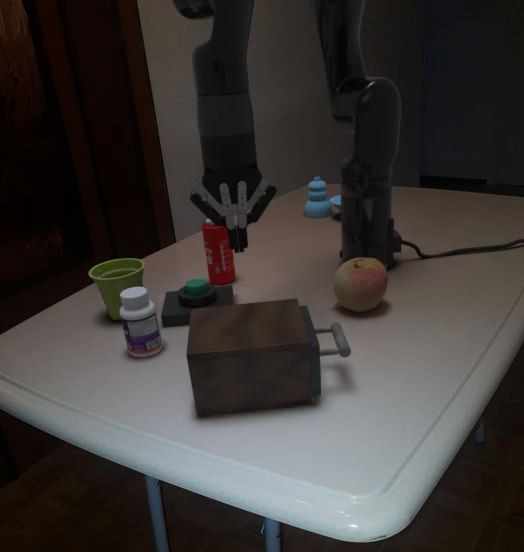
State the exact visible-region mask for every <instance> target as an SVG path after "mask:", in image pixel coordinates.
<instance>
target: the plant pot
mask: <svg viewBox="0 0 524 552" xmlns="http://www.w3.org/2000/svg"><path fill="white" fill-rule="evenodd" d="M145 267H146V263H145V261H143V260H142V259H139V258H132V257H131V258H130V257H127V258H126V257H125V258H115V259H112V260H107V261H105V262H102V263H99V264H96V265H95V266H93V267H92V268H90V270H89V271H88V276H89V278H90V279H92V280H93V283H94V285H96V286H97V289H98V291H99V293H100V295H101V298H102V301H103V303H104V305H105V308H106V310H107V313H108V314H109V317H110V319H111V320H113V321H117V320H120V321H121V318H120V309H121V307H122V306H123V304H122V302H121V297H120V294H121V292H122V291H124V290H126V289H128V288H132V287H144V280H143V278H144V277H143V276H144V269H145Z"/></svg>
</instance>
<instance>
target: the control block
mask: <svg viewBox="0 0 524 552" xmlns="http://www.w3.org/2000/svg"><path fill="white" fill-rule="evenodd" d="M206 283H207V290H208V291H207V292H206V293H204V294H200V295H187V293H186V287H185V285H183V286H182V287H180V288H179V289H178V290H172V291H166V292H165V295H164V300H163V305H162V310H161V314H160V319H161V323H162V328H171V327H181V326H182V327H183V326H190V317H191V309H199V308H208V307H218V306H227V305H235V295H234V286H233V284H230V285H228V284H227V285H218V286H217V285H215V284H213V283H212V282H211V283H209V282H206Z"/></svg>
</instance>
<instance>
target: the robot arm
mask: <svg viewBox="0 0 524 552" xmlns="http://www.w3.org/2000/svg"><path fill="white" fill-rule="evenodd" d="M171 3H172V4H173V6H174V8H175V9H176V11H177V12H178V13H179V14H180V15H181V16H182V17H184V18H185V19H188V20H189V21H206V20H212V27H211V32H210V37H209V38H208V39H207V40H206V41H204V42H201V43H199V44H198V45H196V46H195V47H194V48H193V50H192V52H191V53H192V54H191V63H192V72H193V80H194V81H193V82H194V88H195V94H196V96H195V97H196V119H197V129H198V135H199V142H200V151H201V157H202V166H203V174H202V177H201V184H200V185H199V186H198V187H197V188H196V189H194V190H191V192H190V194H189V195H190V197H189V200H190V202H191V203H192V204H193V205H194V206H195V207H196V208H197V209H198V210H199V211H200V212H201V213H202V214H203V215H204V216H205V217H206V218H209V219H210V220H211V221H212V222H213V223H214V224H215V225H216V226H218V227H219V226H222V227H225V228H226V229H227V231H228V240H229V247H230V249H231V250H233V252H234V254H239V253H245V249H248V248H249V247H248V246H249V238H248V237H249V236H248V226H250V225H252V224H255V223H257V222H259V221H260V218H261V217H262V215H263V214H264V212H265V211H266V209H267V208H268V206H269V204H270V203H271V201H272V200H273V198H274V197H275V195H276V194H277V192H278V189H277V187H276V184H274V183H273V182H269V181H268V180H267V179H265V178H263V175H262V173H261V169H259V166H258V157H257V147H256V146H257V145H256V134H255V133H256V132H255V117H254V109H253V104H252V99H251V94H250V93H251V92H250V83H249V72H248V71H249V70H248V62H247V54H248V46H249V41H250V33H251V27H252V26H251V25H252V18H253V13H254V5H255V0H171ZM309 4H310V8H311V11H312V12H311V13H312V17H313V21H314V26H315V31H316V36H317V39H318V40H317V41H318V43H319V47H320V51H321V57H322V61H323V69H324V77H325V82H326V90H327V98H328V104H329V110H330V113H331V117H332V120H333V122H334V124H335V125H336V127H337V128H338V129H339V130H341V131H342V132H344V133H346V134H350V135H353V145H352V153H351V154H350V155H349V156H347V157H344V158H343V159H342V160H341V162H340V167H339V172H340V173H339V176H340V182H339V183H340V195H341V211H340V243H341V245H340V246H341V247H340V248H341V249H340V251H339V259H340V266H341V265H342V264H344V263H345V262H347V261H349V260H351V259H354V258H374V259H377V260H378V261H380V262H381V263H382V264H383V265H384V267H385V268H386V270H389V269H393V268H394V254H397V253H401V252H402V245H404V246H407V247H410V248H412V249H413V250H414V251H415V252H416V255H417V256H418V257H419V258H421V259H435V258H442V257H448V256H452V255H455V254H456V255H457V254H462V253H469V252H482V251H493V250H500V249H501V250H502V249H507V248H511V247H513V246H515V245H518V244H524V238H518V239H515V240H512V241H510V242H507V243H502V244H495V245H483V246H473V247H461V248H456V249H452V250H448V251H445V252H441V253H438V254H426V253H423V252H421V249H420V247H419V246H418V245H417V244H414V243H413V242H412V241H411V242H410V241H408V240H404V239H403V237H402V235H401V234H400V233H399V232H398V231H397V230H396V229H395V218H393V217H392V197H393V168H394V164H395V162H396V159H397V156H398V152H399V143H400V131H401V119H402V101H401V95H400V91H399V89H398V87H397V85H396V83H394V82H393V81H392V80H391V79H389V78H387V77H381V76H368V74H367V70H366V66H365V62H364V57H363V51H362V44H361V28H362V21H363V16H364V12H365V11H364V10H365V5H366V0H309ZM258 187H259V189H258ZM257 190H258V193H259V197H258V199H257V200H256V202H255V203H254V205H253V206H252V208H251V209H250V211H249V212H247V211H248V209H247V205H248V202H249V201H251V200H252V198H253V196H254V194H255V192H256V191H257ZM207 192H208V194H210V196H211V197H212V198H213V200H215V201H216V202H217V203H218V204H219V205H221V206H222V208H223V213H224V215H221V213H220V212H218V211H217V209H215V208H214V206H212V204H211V203H210V202H209V201H208V200H209V197H208V194H207ZM233 205H236V211H237V222H236V221H235V217H234V211H233ZM236 223H237V224H236Z"/></svg>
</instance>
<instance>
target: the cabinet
mask: <svg viewBox="0 0 524 552" xmlns="http://www.w3.org/2000/svg"><path fill="white" fill-rule="evenodd" d="M300 306H301V305H300V302H299V299H298V298H297V297H295V298H287V299H275V300H268V301H267V300H265V301H258V302H248V303H239V304H238V303H237V304H234V305H227V306H218V307H208V308H199V309H191V317H190V325H188V326H189V327H188V336H187V345H186V352H185V354H186V361H187V367H188V373H189V378H190V384H191V391H192V395H193V396H192V397H193V402H194V407H195V412H196V417H197V418H200V417H212V416H219V415H221V416H222V415H230V414H240V413H241V414H242V413H249V412H258V411H268V410H269V411H270V410H277V409H287V408H295V407H296V408H297V407H305V406H313V405H314V400H313V399H314V396H313V395H312V374H311V354H310V340H309V337H308V333H307V330H306V327H305V323H304V320H303V316H302V313H301V309H300Z"/></svg>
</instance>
